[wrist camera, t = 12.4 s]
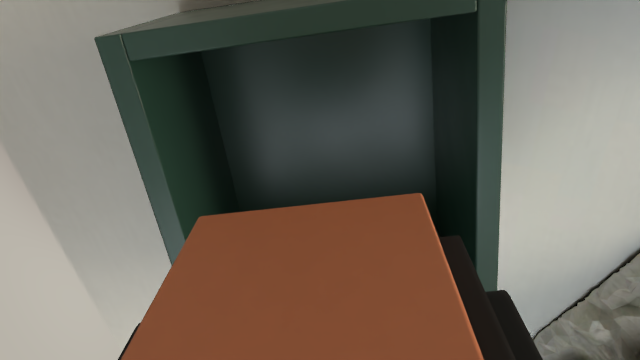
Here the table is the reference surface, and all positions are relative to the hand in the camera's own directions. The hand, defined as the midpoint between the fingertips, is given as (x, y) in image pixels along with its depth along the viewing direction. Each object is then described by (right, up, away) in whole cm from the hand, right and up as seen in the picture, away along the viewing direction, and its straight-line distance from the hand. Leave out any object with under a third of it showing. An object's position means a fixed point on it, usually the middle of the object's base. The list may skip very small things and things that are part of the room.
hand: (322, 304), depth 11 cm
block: (0, 0, 0) cm, 0 cm away
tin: (0, +5, +11) cm, 13 cm away
